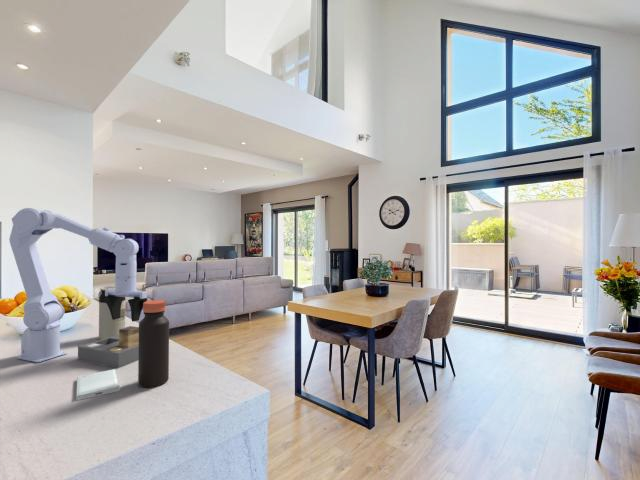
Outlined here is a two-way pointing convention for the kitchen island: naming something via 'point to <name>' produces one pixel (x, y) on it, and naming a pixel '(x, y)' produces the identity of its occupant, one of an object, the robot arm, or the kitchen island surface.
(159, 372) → the bottle
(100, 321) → the travel mug
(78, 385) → the hard drive
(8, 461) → the kitchen island surface
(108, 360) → the socket block
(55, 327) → the robot arm
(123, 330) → the plug
